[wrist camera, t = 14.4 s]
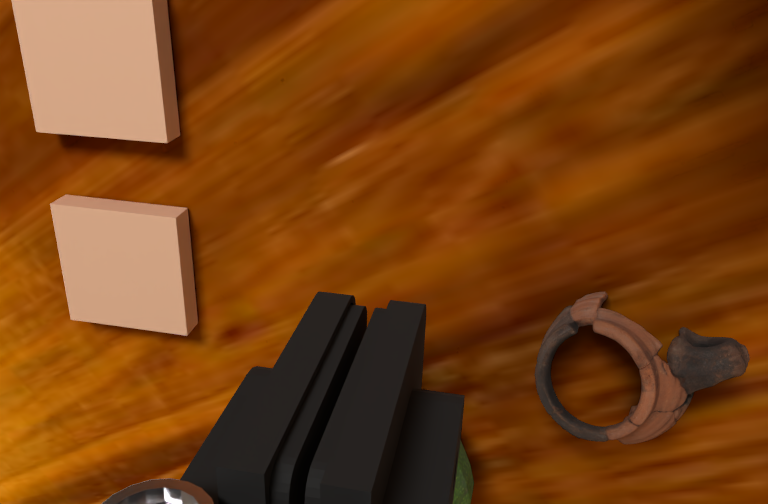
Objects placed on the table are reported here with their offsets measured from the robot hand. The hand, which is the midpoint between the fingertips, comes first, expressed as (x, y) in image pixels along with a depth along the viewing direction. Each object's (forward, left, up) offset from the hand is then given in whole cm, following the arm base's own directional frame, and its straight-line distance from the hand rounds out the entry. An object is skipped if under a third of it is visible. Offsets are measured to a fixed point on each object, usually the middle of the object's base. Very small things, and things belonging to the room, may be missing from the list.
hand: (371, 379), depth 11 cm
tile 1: (+2, -19, -31) cm, 36 cm away
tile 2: (+16, -19, -31) cm, 40 cm away
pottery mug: (+18, +11, -32) cm, 39 cm away
